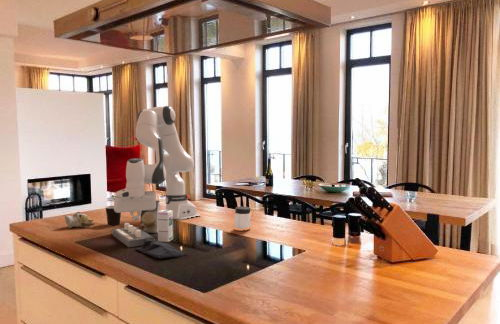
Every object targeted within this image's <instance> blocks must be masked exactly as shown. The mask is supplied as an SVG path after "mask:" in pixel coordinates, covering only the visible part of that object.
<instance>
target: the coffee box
mask: <svg viewBox="0 0 500 324" xmlns="http://www.w3.org/2000/svg"><path fill="white" fill-rule="evenodd" d="M159 211H160V200H156V208H155V209H153V210H142V211H141V214H140V218H139V220H140V221H139V222H140V224H139V225H140V228H139V229H141V230H143V231H144V232H146V233H154V234H155V233H157V234H158V214H157V212H159Z"/></svg>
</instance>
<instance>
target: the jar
mask: <svg viewBox="0 0 500 324" xmlns="http://www.w3.org/2000/svg"><path fill="white" fill-rule="evenodd" d="M251 219H252V212H251V207H249V206H236V207H235V210H234V218H233V220H234V222H233V223H234V224H233V225H234V227H235V228H239V229H244V228H249V227H250V226H251V227H252V223H251V221H252V220H251Z"/></svg>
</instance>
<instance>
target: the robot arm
mask: <svg viewBox="0 0 500 324" xmlns="http://www.w3.org/2000/svg"><path fill="white" fill-rule="evenodd" d="M175 121H176V111H175V109H174V108H173V107H172V106H169V105H165V106H154V107H151V108H146V109H145V108H144V109H141V110H139V112H138V113H137V116H136V128H135V138H136V140H137V142H139V143H140V145H142V146H145V147H148V148H150V149H152V150H154V152H155V163H154V164H145V163H144V159H143V158H137V157H134V158H130V159H128V160H127V162H126V167H125V168H126V169H125V178H126V183H125V188H124V189H123V188H122V189H120V190H118V191H115V195H116V197H115V198H114V202H113V206H114V211H115V212H117V213H121V214H122V213H129V214H130V216H131V219H132V221H139V220H140V217H141V211H142V210H153V209H155V208H156V201H157V200H156V199H157V194H156V192H155V191H153V190H147V191H146V185H145V184H153V185H161V184H163V183H164V182H165V192H166V193H165V197H164V198H165V209H164V210H173V220H181V221H182V220H188V219H187V218H189V219H192V218H191V217H194V218H196V217H195V216H199V215H200V216H201V214H200V213H199V212H198V210H197V207H196V205H195V204H193V203H192V202H191V201H190V200H188V199H190V198H191V195H190V194H186V193H185V192H186V191H185V186H186V185H185V183H186V182H185V180H184V179H183V178H182V177H181V174H180V173H187V172H191V171H192V170H193V169H194V166H195V161H194V158H193V157H192V156H191V155H189V154H188V152H187V151H186V150H185V149H184V147H183V146H182V144H181V142H180V137H179V134H178V132H177V127H176V124H175ZM165 152H166V153H165ZM135 212H137V214H136V215H134V214H135ZM198 214H199V215H198Z"/></svg>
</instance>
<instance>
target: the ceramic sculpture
mask: <svg viewBox="0 0 500 324" xmlns="http://www.w3.org/2000/svg"><path fill="white" fill-rule="evenodd" d="M64 220H65V221H64V222H65V223H66V226H67V227H68V229H71V228H73V227H76V228H83V227H85V228H86V227H93V226H94V225H95V224H96V223H93V221H94V219H89V218H88V215H87V214H85V213H81V212H80V211H77V212H75V213H74V214H72V215H68V214H64Z"/></svg>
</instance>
